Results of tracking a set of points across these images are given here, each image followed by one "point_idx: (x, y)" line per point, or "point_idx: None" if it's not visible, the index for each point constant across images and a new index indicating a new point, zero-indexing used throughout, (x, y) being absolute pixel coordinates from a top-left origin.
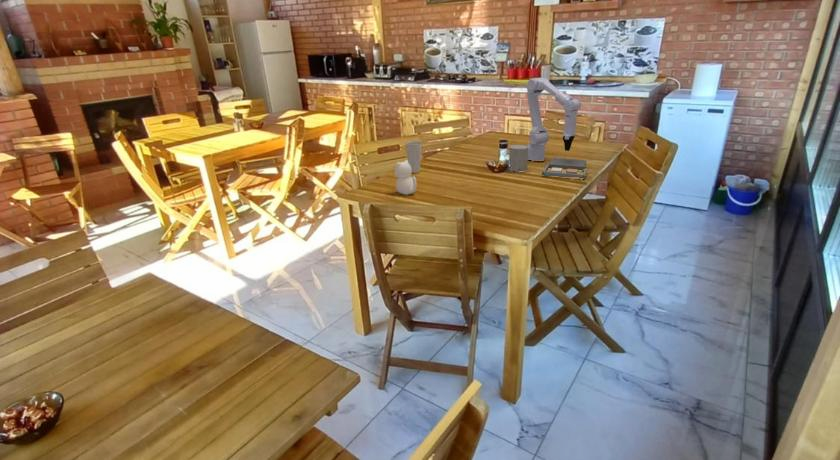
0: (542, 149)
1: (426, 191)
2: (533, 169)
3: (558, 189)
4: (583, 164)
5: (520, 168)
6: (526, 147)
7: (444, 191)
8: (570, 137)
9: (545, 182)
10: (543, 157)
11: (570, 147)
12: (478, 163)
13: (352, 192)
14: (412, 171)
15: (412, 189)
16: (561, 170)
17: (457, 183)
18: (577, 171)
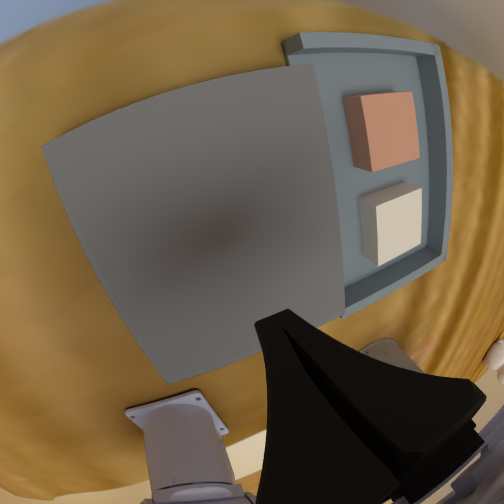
0: (201, 461)
1: (490, 340)
2: (345, 341)
3: (499, 133)
4: (226, 84)
5: (403, 351)
6: None
7: (494, 325)
8: (437, 460)
9: (472, 199)
10: (175, 417)
11: (267, 342)
12: None
13: (479, 378)
14: None
15: (502, 342)
16: (414, 190)
17: (469, 349)
18: (365, 94)
